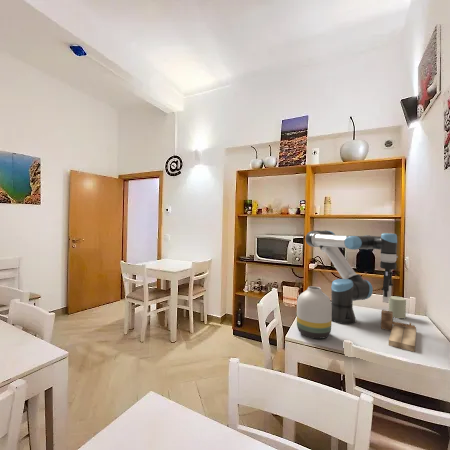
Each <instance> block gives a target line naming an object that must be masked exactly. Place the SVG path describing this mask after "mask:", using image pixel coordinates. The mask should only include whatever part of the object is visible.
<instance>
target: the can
mask: <svg viewBox="0 0 450 450" xmlns="http://www.w3.org/2000/svg"><path fill="white" fill-rule="evenodd" d="M406 308H407V299H406V298H405V297H401V296H396V295H394V296H393V295H391V298H390V297H389V303H388V311H392V312H393V317H395V318H394V319H396V318H407V316H406V315H407V313H406V312H407V311H406V310H407V309H406Z"/></svg>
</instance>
